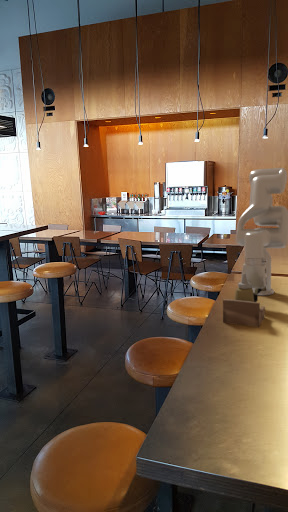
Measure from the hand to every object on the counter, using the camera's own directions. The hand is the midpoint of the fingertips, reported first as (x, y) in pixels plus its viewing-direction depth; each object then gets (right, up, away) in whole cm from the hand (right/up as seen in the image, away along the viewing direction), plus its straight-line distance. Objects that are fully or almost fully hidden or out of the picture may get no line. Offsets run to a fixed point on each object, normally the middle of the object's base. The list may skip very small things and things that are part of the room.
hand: (253, 302), depth 157 cm
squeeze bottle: (-8, -5, -13) cm, 16 cm away
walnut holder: (-8, -5, -14) cm, 17 cm away
